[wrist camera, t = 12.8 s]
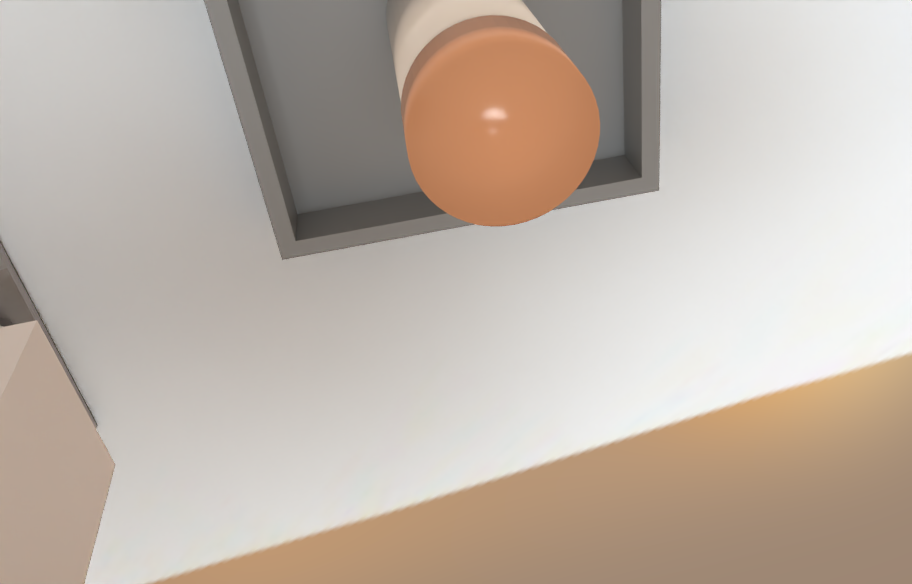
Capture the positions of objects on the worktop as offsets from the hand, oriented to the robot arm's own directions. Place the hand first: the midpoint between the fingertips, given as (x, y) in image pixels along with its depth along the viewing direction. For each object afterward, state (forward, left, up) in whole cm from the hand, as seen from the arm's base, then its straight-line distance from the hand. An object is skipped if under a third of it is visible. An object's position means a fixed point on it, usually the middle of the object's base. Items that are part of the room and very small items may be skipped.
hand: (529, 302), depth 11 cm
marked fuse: (+1, 0, -16) cm, 16 cm away
